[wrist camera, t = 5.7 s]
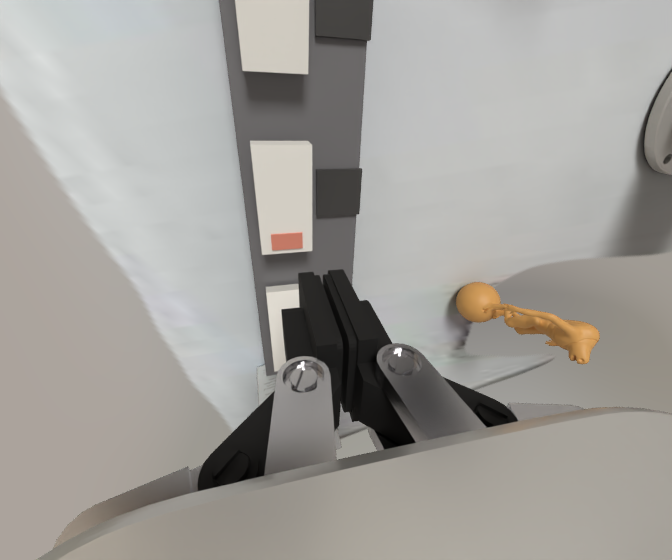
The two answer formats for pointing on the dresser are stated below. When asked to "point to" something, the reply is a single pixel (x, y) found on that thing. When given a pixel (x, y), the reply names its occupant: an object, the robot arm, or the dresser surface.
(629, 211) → the dresser surface
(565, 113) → the dresser surface
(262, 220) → the block
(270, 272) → the power strip
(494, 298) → the figurine
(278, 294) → the block
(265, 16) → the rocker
